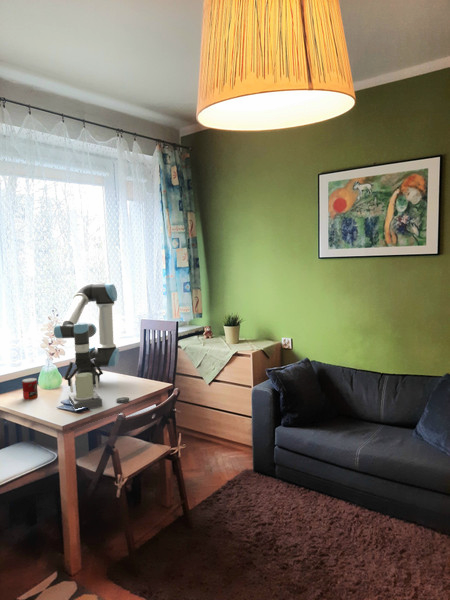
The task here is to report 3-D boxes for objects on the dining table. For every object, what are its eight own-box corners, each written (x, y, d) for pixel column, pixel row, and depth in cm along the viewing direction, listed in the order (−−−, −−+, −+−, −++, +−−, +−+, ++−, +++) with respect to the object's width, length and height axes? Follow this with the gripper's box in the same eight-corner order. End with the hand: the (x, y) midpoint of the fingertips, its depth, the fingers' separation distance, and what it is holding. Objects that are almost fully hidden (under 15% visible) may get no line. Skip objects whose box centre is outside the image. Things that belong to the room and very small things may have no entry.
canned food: (31, 400, 245) (29, 381, 244) (20, 399, 248) (18, 380, 247) (41, 396, 253) (39, 378, 252) (30, 395, 255) (29, 377, 254)
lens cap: (114, 402, 239) (113, 399, 239) (124, 399, 245) (124, 396, 245) (121, 404, 235) (121, 401, 235) (132, 401, 240) (131, 398, 240)
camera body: (69, 402, 241) (68, 393, 240) (94, 397, 248) (94, 389, 247) (75, 411, 225) (74, 401, 225) (102, 406, 232) (101, 397, 232)
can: (88, 398, 231) (87, 376, 230) (72, 397, 232) (71, 375, 231) (96, 393, 240) (95, 371, 239) (81, 392, 241) (80, 371, 240)
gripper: (59, 355, 225) (61, 395, 226) (107, 349, 237) (109, 387, 239) (57, 353, 231) (59, 391, 233) (103, 347, 243) (105, 384, 245)
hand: (84, 389), depth 236 cm, fingers open, 13 cm apart
